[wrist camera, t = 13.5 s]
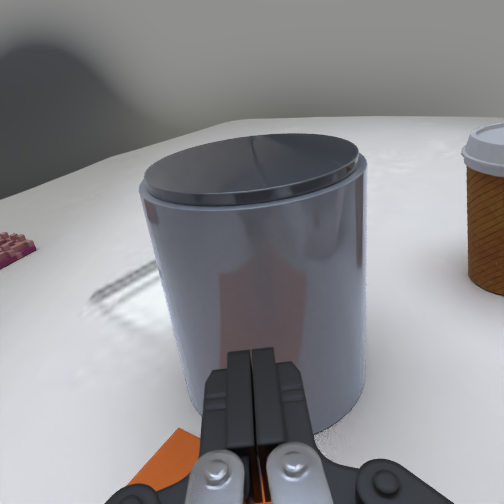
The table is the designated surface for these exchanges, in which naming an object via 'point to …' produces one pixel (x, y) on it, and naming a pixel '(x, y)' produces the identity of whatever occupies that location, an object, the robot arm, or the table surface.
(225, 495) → the robot arm
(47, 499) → the table surface
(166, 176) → the crock
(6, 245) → the red flat knobbed bar
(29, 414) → the table surface
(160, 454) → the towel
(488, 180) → the disposable coffee cup
